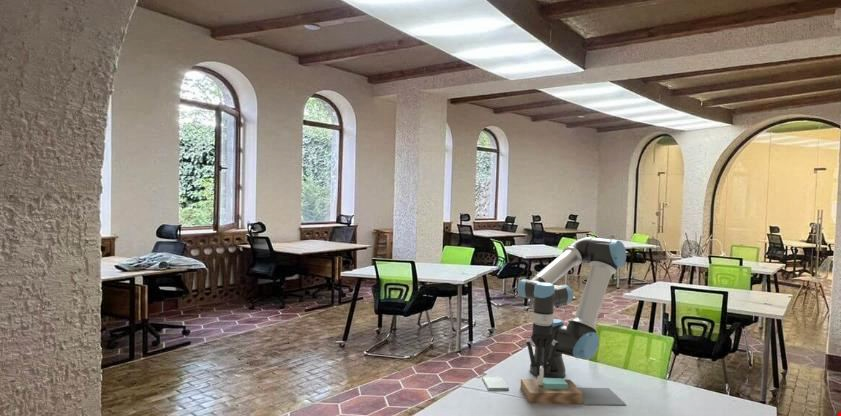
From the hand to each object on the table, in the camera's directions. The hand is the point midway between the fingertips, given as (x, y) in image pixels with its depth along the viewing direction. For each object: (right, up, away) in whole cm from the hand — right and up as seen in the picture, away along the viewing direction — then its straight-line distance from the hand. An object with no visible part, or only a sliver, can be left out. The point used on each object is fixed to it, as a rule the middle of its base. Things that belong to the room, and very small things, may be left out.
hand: (540, 383), depth 205 cm
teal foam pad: (+5, -1, 0) cm, 5 cm away
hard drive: (-16, -5, +10) cm, 20 cm away
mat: (+22, -6, +1) cm, 23 cm away
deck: (+4, -5, 0) cm, 6 cm away
